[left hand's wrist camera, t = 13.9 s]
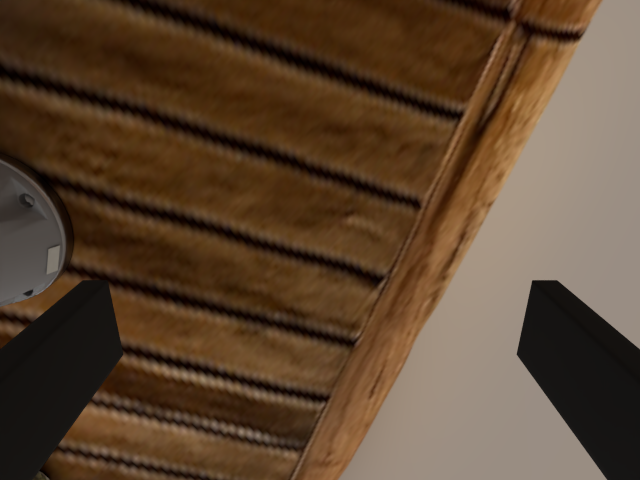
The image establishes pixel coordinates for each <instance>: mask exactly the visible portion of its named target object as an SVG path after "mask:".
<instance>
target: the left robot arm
mask: <svg viewBox="0 0 640 480" xmlns="http://www.w3.org/2000/svg"><path fill="white" fill-rule="evenodd" d="M72 251H73V232H72V227H71V223H70V220H69V217H68V214H67V212H66V210H65V208H64V206H63V204H62V202H61V201H60V199H59V198H58V196H57V195H56V193H55V192H54V191H53V189H52V188H51V187H50V186H49V185H48V184H47V183H46V182H45V181H44V180H43V179H42V178H41V177H40V176H39V175H38V174H37V173H35V172H34V171H33V170H31V169H30V168H29V167H27V166H26V165H24V164H22V163H21V162H19V161H17V160H15V159H13V158H11V157H9V156H6V155H4V154H1V153H0V307H1V306H4V305H8V304H11V303H15V302H19V301H22V300H25V299H28V298H31V297H33V296H35V295H37V294H39V293H40V292H42V291H43V290H45V289H46V288H47V287H49V286H50V285H51V284H53V283H54V282H55V281H56V280H58V279H59V278H60V276H61V275H62V274H63V273H64V271H65V270H66V268H67V266H68V264H69V262H70V259H71V256H72ZM517 355H518V357H519V358H520V360H521V361H522V362H523V364H524V365H525V367H526V368H527V369H528V371H529V372H530V374H531V375H532V376H533V378H534V379H535V380H536V382H537V383H538V384H539V386H540V387H541V389H542V390H543V392H544V393H545V394H546V396H547V397H548V398H549V400H550V401H551V403H552V404H553V405H554V407H555V408H556V410H557V411H558V412H559V414H560V415H561V416H562V418H563V419H564V421H565V422H566V423H567V425H568V426H569V428H570V429H571V430H572V432H573V433H574V434H575V436H576V437H577V439H578V440H579V441H580V443H581V444H582V445H583V447H584V448H585V450H586V451H587V452H588V454H589V455H590V457H591V458H592V459H593V461H594V462H595V463H596V465H597V466H598V468H599V469H600V470H601V472H602V473H603V475H604V476H605V477H606V479H607V480H640V349H639V348H637V347H636V346H635V345H634V344H633V343H631V342H630V341H629V340H628V339H627V338H625V337H624V336H623V335H622V334H621V333H619V332H618V331H617V330H616V329H615V328H613V327H612V326H611V325H610V324H609V323H608V322H606V321H605V320H604V319H603V318H602V317H600V316H599V315H598V314H597V313H595V312H594V311H593V310H592V309H591V308H590V307H588V306H587V305H586V304H585V303H584V302H582V301H581V300H580V299H579V298H578V297H576V296H575V295H574V294H573V293H572V292H570V291H569V290H568V289H567V288H566V287H564V286H563V285H562V284H561V283H560V282H558V281H557V280H533V281H532V285H531V289H530V294H529V299H528V304H527V308H526V313H525V318H524V322H523V327H522V332H521V337H520V341H519V346H518V351H517ZM122 356H123V351H122V346H121V341H120V337H119V332H118V327H117V322H116V318H115V313H114V308H113V303H112V299H111V294H110V289H109V285H108V280H83V281H82V282H80V283H79V284H78V285H77V286H76V287H74V288H73V289H72V290H71V291H70V292H68V293H67V294H66V295H65V296H64V297H62V298H61V299H60V300H59V301H58V302H56V303H55V304H54V305H53V306H52V307H50V308H49V309H48V310H47V311H46V312H44V313H43V314H42V315H41V316H40V317H38V318H37V319H36V320H35V321H34V322H32V323H31V324H30V325H29V326H28V327H26V328H25V329H24V330H23V331H22V332H21V333H19V334H18V335H17V336H16V337H15V338H13V339H12V340H11V341H10V342H9V343H7V344H6V345H5V346H4V347H3V348H1V349H0V480H33V479H34V477H35V476H36V475H37V473H38V472H39V470H40V469H41V468H42V466H43V465H44V463H45V462H46V461H47V459H48V458H49V457H50V455H51V454H52V452H53V451H54V450H55V448H56V447H57V445H58V444H59V443H60V441H61V440H62V439H63V437H64V436H65V434H66V433H67V432H68V430H69V429H70V427H71V426H72V425H73V423H74V422H75V421H76V419H77V418H78V416H79V415H80V414H81V412H82V411H83V410H84V408H85V407H86V405H87V404H88V403H89V401H90V400H91V398H92V397H93V396H94V394H95V393H96V392H97V390H98V389H99V387H100V386H101V385H102V383H103V382H104V380H105V379H106V378H107V376H108V375H109V374H110V372H111V371H112V369H113V368H114V367H115V365H116V364H117V362H118V361H119V360H120V358H121V357H122Z"/></svg>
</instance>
